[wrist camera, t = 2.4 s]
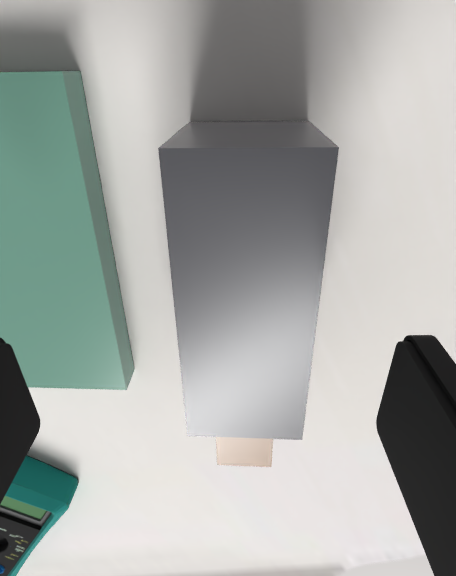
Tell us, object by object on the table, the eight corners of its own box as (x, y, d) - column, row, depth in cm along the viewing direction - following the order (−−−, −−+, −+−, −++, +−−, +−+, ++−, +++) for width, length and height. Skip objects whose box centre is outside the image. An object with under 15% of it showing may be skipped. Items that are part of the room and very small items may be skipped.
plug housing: (308, 120, 14) (339, 147, 9) (285, 391, 21) (295, 487, 16) (189, 121, 14) (158, 148, 9) (205, 388, 21) (192, 483, 16)
